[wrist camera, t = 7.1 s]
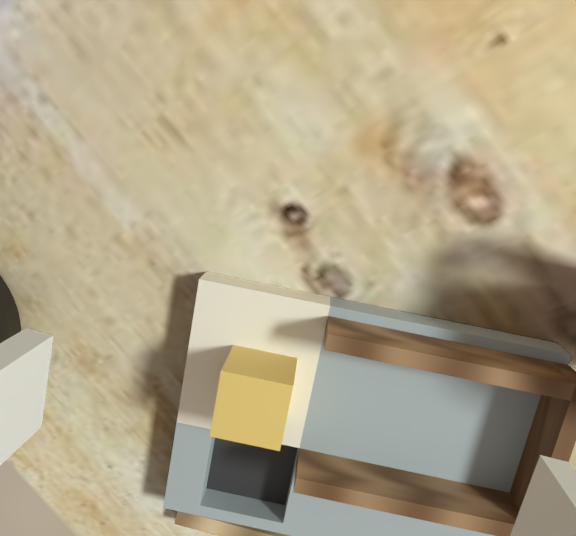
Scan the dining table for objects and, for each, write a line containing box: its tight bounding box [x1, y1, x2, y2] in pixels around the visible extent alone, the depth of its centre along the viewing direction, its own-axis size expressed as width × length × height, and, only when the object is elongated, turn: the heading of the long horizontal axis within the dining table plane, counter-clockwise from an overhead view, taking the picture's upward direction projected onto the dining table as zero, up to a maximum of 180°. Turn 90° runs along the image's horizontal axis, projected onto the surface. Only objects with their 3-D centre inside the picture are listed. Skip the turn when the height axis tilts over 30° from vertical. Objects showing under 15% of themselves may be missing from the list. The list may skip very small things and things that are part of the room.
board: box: [163, 272, 571, 536], centre depth 44 cm, size 28×20×2 cm
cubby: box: [293, 316, 576, 536], centre depth 40 cm, size 18×12×4 cm
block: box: [210, 345, 297, 451], centre depth 40 cm, size 5×5×5 cm
